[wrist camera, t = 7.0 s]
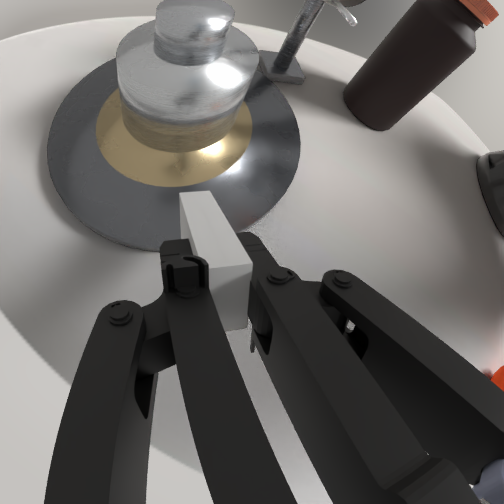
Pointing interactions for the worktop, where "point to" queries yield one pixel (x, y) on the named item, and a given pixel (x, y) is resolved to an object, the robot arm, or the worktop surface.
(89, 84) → the grey plate
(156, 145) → the cover
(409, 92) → the bottle
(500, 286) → the worktop surface
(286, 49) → the dial gauge stand
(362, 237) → the worktop surface
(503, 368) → the clementine
